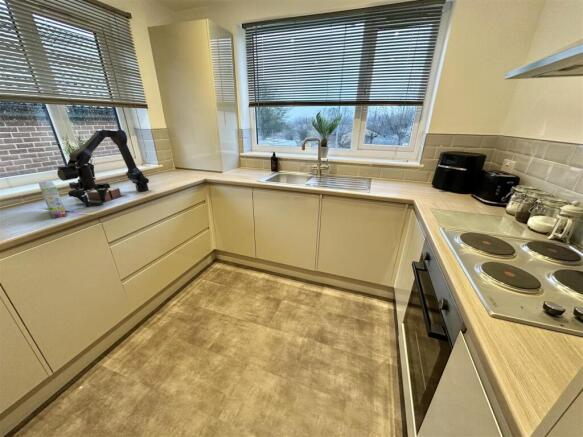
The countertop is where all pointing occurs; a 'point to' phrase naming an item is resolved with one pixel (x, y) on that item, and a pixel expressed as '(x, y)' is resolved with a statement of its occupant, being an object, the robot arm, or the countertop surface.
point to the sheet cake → (114, 192)
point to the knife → (90, 202)
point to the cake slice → (97, 195)
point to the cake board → (109, 199)
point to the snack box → (52, 199)
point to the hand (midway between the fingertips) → (95, 204)
